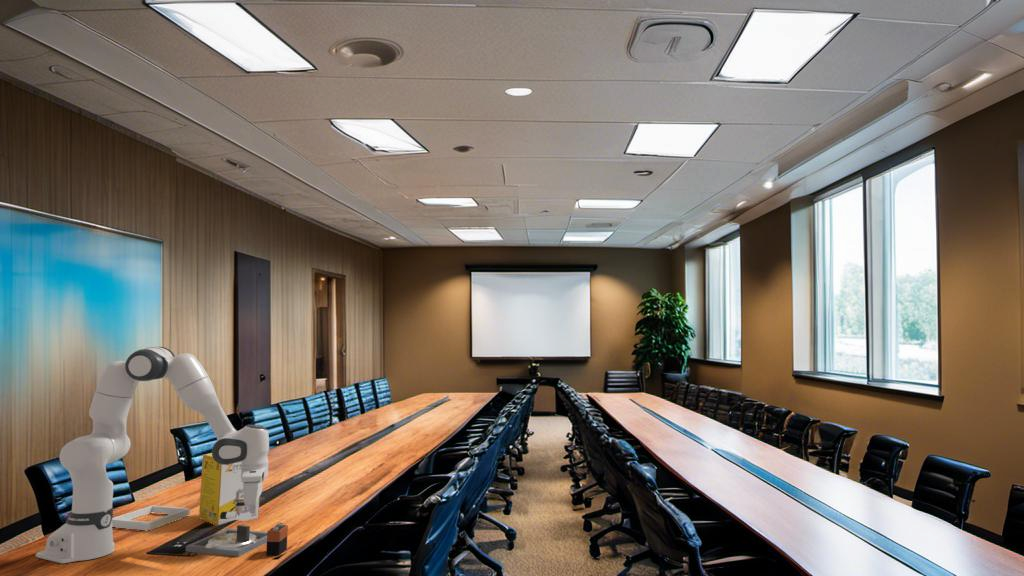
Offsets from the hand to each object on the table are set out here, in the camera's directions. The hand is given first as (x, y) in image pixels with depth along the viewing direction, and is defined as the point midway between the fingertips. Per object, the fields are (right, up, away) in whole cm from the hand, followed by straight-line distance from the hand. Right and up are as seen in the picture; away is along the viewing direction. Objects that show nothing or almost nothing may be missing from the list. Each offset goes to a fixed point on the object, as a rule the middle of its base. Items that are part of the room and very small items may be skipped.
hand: (253, 512), depth 211 cm
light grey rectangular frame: (-51, -13, +25) cm, 58 cm away
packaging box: (-23, -14, +31) cm, 41 cm away
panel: (-5, -11, -4) cm, 13 cm away
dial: (-5, -9, -4) cm, 12 cm away
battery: (+12, -11, -11) cm, 20 cm away
